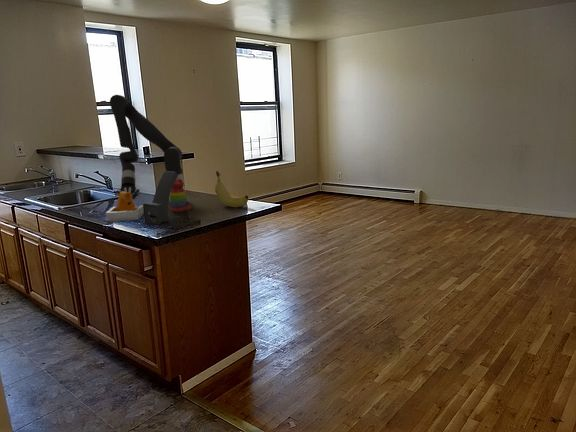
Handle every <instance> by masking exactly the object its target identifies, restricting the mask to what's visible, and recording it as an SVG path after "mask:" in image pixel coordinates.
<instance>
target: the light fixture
mask: <svg viewBox="0 0 576 432" xmlns="http://www.w3.org/2000/svg"><path fill="white" fill-rule="evenodd" d="M177 177H178V174H177V173H176V172H170V171H166V170H165V171H163V174H162V175H161V178H159V179H160V180H159V182H158V184H157V186H156V190H155V191H154V192H155V193H154V195H153V200H152V202H151V203H147V202H143V204H142V205H143V210H144V214H143V216H144V223H146V224H149V225H150V224H151V225H156V226H157V225H158V226H159V225H161V223H166V222H169V201H170V200H169V196H170V193H171V190H172V187H173V184H174V182H175V181H176V179H177Z"/></svg>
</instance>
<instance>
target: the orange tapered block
mask: <svg viewBox="0 0 576 432" xmlns="http://www.w3.org/2000/svg"><path fill="white" fill-rule="evenodd" d="M132 195H133V194H131V193H130V192H124V191H122V192H120V194H119V196H118V198H117V204H116V206H115V207H116V210H117V211H134V210H136V209H137V208H138V207H139V206H136V205H135V203H134V201H133V199H132ZM130 201H131V204H129V205H128V203H130Z"/></svg>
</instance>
